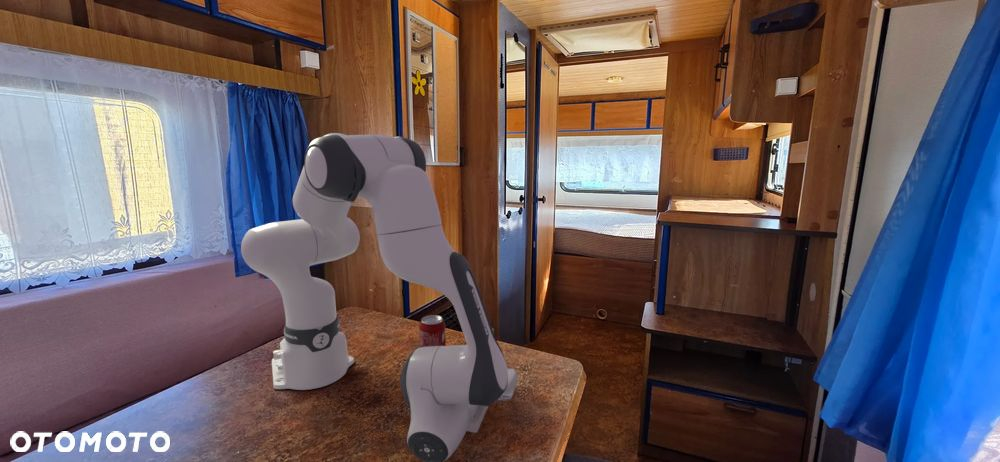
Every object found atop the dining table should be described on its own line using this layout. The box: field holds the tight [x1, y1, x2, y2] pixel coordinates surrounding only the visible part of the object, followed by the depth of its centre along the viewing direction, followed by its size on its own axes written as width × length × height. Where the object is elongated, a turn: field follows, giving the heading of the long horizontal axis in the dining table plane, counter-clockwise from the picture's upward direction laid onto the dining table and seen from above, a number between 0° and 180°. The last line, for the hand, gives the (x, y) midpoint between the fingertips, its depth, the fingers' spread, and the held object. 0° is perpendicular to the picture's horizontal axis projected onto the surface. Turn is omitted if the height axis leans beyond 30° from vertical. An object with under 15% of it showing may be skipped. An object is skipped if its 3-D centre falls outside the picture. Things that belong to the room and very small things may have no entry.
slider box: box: [466, 405, 489, 434], centre depth 89 cm, size 24×8×2 cm, turn 167°
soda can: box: [418, 314, 447, 347], centre depth 103 cm, size 7×7×12 cm
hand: (479, 359), depth 92 cm, fingers closed, pressing on slider knob
